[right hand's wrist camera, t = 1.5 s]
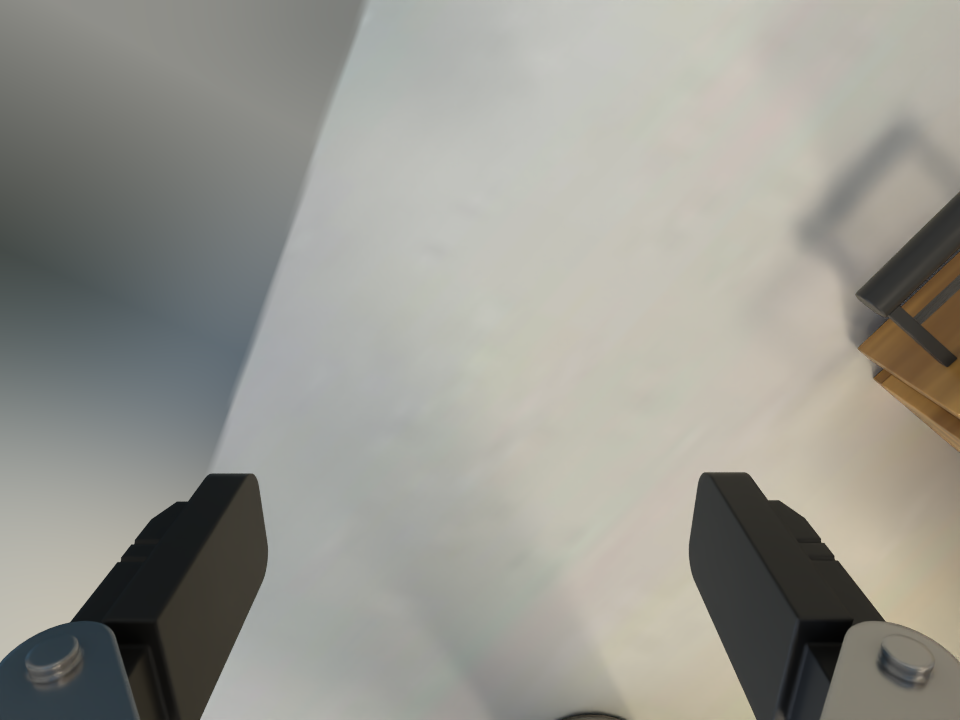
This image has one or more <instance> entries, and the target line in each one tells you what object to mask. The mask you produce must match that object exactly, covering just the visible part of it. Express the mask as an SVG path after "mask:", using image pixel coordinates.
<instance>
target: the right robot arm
mask: <svg viewBox="0 0 960 720" xmlns="http://www.w3.org/2000/svg"><path fill="white" fill-rule="evenodd" d="M267 560H268V544H267V537H266V530H265V524H264V517H263V511H262V504H261V497H260V491H259V485H258V481H257V478H256V476H255V475H254V474H209V475H208V476H207V477H206V478H205V479H204V480H203V482H202V483H201V485H200V486H199V487H198V489H197V490H196V491H195V493H194V494H193V496H192V497H191V498H190V500H189V501H188V502H176V503H175V504H173V505H172V506H170V507H169V508H167V509H166V510H164V511H163V512H161V513H160V514H159V515H157V516H156V517H154V518H153V519H151V521H150V522H149V523H148V524H147V526H146V527H145V528H144V529H143V531H142V532H141V533H140V534H139V536H138V537H137V538H136V539H135V544H134V545H131V546H130V547H129V548H128V550H127V551H126V552H125V553H124V555H123V556H122V557H121V562H117V564H116V565H115V566H114V567H113V569H112V570H111V571H110V572H109V574H108V575H107V576H106V578H105V579H104V580H103V581H102V583H101V584H100V585H99V586H98V588H97V589H96V590H95V591H94V593H93V594H92V595H91V597H90V598H89V599H88V600H87V602H86V603H85V604H84V605H83V607H82V608H81V609H80V610H79V612H78V613H77V614H76V616H75V617H74V618H73V619H72V621H71V622H70V623H66V624H62V625H58V626H55V627H53V628H50V629H47V630H45V631H43V632H41V633H38V634H37V635H35V636H33V637H31V638H29V639H28V640H26V641H25V642H23V643H22V644H20V645H19V646H17V647H16V648H15V649H14V650H12V651H11V652H10V653H9V654H8V655H7V656H6V657H5V658H4V659H3V660H2V661H1V663H0V720H200V718H201V716H202V714H203V712H204V709H205V707H206V705H207V703H208V701H209V698H210V696H211V694H212V692H213V690H214V687H215V685H216V683H217V681H218V679H219V676H220V674H221V672H222V670H223V668H224V665H225V663H226V661H227V659H228V657H229V654H230V652H231V650H232V648H233V646H234V643H235V641H236V639H237V637H238V635H239V632H240V630H241V628H242V626H243V624H244V621H245V619H246V617H247V615H248V613H249V610H250V608H251V606H252V604H253V601H254V599H255V597H256V595H257V593H258V590H259V588H260V586H261V584H262V582H263V579H264V576H265V572H266V567H267ZM689 560H690V567H691V572H692V575H693V578H694V581H695V583H696V585H697V588H698V590H699V592H700V594H701V596H702V599H703V601H704V603H705V605H706V608H707V610H708V612H709V614H710V617H711V619H712V621H713V623H714V625H715V628H716V630H717V632H718V634H719V637H720V639H721V641H722V643H723V646H724V648H725V650H726V652H727V654H728V657H729V659H730V661H731V663H732V666H733V668H734V670H735V672H736V675H737V677H738V679H739V681H740V683H741V686H742V688H743V690H744V692H745V695H746V697H747V699H748V701H749V704H750V706H751V708H752V710H753V712H754V715H755V717H756V719H757V720H960V662H959V661H958V660H957V659H956V658H955V657H954V656H953V655H952V654H951V653H950V652H949V651H948V650H946V649H945V648H944V647H943V646H941V645H940V644H938V643H937V642H935V641H934V640H932V639H931V638H929V637H927V636H925V635H923V634H922V633H919V632H917V631H915V630H913V629H910V628H907V627H905V626H902V625H898V624H894V623H890V622H886V621H885V620H884V619H883V618H882V616H881V615H880V614H879V613H878V611H877V610H876V609H875V607H874V606H873V605H872V604H871V602H870V601H869V600H868V598H867V597H866V596H865V595H864V593H863V592H862V591H861V589H860V588H859V587H858V586H857V584H856V583H855V582H854V581H853V579H852V578H851V577H850V575H849V574H848V573H847V572H846V570H845V569H844V568H843V566H842V565H841V564H840V563H839V561H835V559H834V555H833V554H832V552H831V551H830V550H829V549H828V547H827V546H826V545H825V543H821V538H820V537H819V536H818V534H817V533H816V532H815V531H814V529H813V528H812V527H811V525H810V524H809V523H808V522H807V520H806V519H805V518H804V517H802V516H801V515H799V514H798V513H797V512H795V511H794V510H792V509H791V508H789V507H788V506H786V505H785V504H784V503H782V502H781V501H779V500H767V498H766V497H765V495H764V494H763V493H762V491H761V490H760V489H759V487H758V486H757V484H756V483H755V482H754V480H753V479H752V478H751V476H750V475H749V474H747V473H745V472H705V473H703V474H702V475H701V476H700V479H699V482H698V488H697V494H696V501H695V508H694V514H693V521H692V528H691V535H690V541H689ZM563 720H620V719H617V718H614V717H610V716H605V715H579V716H574V717H569V718H566V719H563Z"/></svg>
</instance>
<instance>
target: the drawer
mask: <svg viewBox="0 0 960 720" xmlns="http://www.w3.org/2000/svg"><path fill="white" fill-rule="evenodd" d="M959 248H960V192H959V193H958V194H957V195H956V196H955V197H954V198H953V199H952V200H951V201H950V202H949V203H948V204H947V205H946V206H945V207H944V208H943V209H942V210H941V211H940V212H938V213H937V214H936V215H935V216H934V217H933V218H932V219H931V220H930V221H929V222H928V223H927V224H926V225H925V226H924V227H923V228H922V229H921V230H920V231H919V232H918V233H917V234H916V235H915V236H914V237H913V238H912V239H911V240H910V241H909V242H908V243H907V244H906V245H905V246H904V247H903V248H902V249H901V250H900V251H899V252H898V253H897V254H896V255H895V256H893V257H892V258H891V259H890V260H889V261H888V262H887V263H886V264H885V265H884V266H883V267H882V268H881V269H880V270H879V271H878V272H877V273H876V274H875V275H874V276H873V277H872V278H871V279H870V280H869V281H868V282H867V283H866V284H865V285H864V286H863V287H862V288H861V289H860V290H859V291H858V292H857V293H856V294H855V295H856V297H857V298H858V299H859V300H860V301H861V302H862V303H863V304H865V305H866V306H867V307H868V308H870V309H871V310H873V311H874V312H876V313H877V314H879V315H880V316H883V317H889V319H888V320H887V321H886V322H885V323H884V324H883V325H882V326H881V327H879V328H878V329H877V330H876V331H875V332H874V333H873V334H872V335H871V336H870V337H869V338H868V339H867V340H866V341H865V342H864V343H863V344H861V345H860V346H859V347H858V350H859V351H860V352H862V353H863V354H864V355H865V356H866V357H867V358H869V359H870V360H871V361H873V362H874V363H876V364H877V365H879V366H880V367H882V368H883V369H885V370H886V371H888V372H889V373H891V374H892V375H894V376H895V377H897V378H898V379H900V380H901V381H903V382H904V383H906V384H907V385H909V386H910V387H912V388H913V389H915V390H916V391H918V392H919V393H921V394H922V395H924V396H925V397H927V398H928V399H930V400H931V401H933V402H934V403H936V404H937V405H939V406H940V407H942V408H943V409H945V410H946V411H948V412H949V413H951V414H952V415H954V416H955V417H957V418H958V419H960V252H959V253H958V254H957V255H956V256H955V257H954V258H953V259H951V260H950V261H949V262H948V263H947V264H946V265H945V266H944V267H943V268H942V269H941V270H940V271H939V272H938V273H937V274H936V275H935V276H933V277H932V278H931V279H930V280H929V281H928V282H927V283H926V284H925V285H924V286H923V287H922V288H921V289H920V290H919V291H918V292H917V293H915V294H914V295H913V296H912V297H911V298H910V299H909V300H908V301H907V302H906V303H905V304H904V305H903V306H902V307H901V306H899V305H900V304H901V303H902V302H903V301H904V300H905V299H906V298H907V297H908V296H910V295H911V294H912V293H913V292H914V291H915V290H916V289H917V288H918V287H919V286H920V285H921V284H922V283H923V282H924V281H925V280H926V279H928V278H929V277H930V276H931V275H932V274H933V273H934V272H935V271H936V270H937V269H938V268H939V267H940V266H941V265H942V264H943V263H944V262H945V261H947V260H948V259H949V258H950V257H951V256H952V255H953V254H954V253H955V252H956V251H957V250H958V249H959Z"/></svg>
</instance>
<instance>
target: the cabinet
mask: <svg viewBox="0 0 960 720" xmlns="http://www.w3.org/2000/svg"><path fill="white" fill-rule="evenodd" d="M874 380H875V381H876V382H878V383H879V384H880V385H881V386H882V387H883V388H885V389H886V390H887V391H888V392H889V393H890V394H892V395H893V396H894V397H895V398H896V399H897V400H899V401H900V402H901V403H902V404H903V405H905V406H906V407H907V408H908V409H909V410H910V411H912V412H913V413H914V414H915V415H916V416H917V417H919V418H920V419H921V420H922V421H923V422H924V423H926V424H927V425H928V426H929V427H930V428H931V429H933V430H934V431H935V432H936V433H937V434H938V435H940V436H941V437H942V438H943V439H944V440H946V441H947V442H948V443H949V444H950V445H951V446H953V447H954V448H955V449H956V450H957V451H958V452H960V419H958V418H957V417H955V416H954V415H952V414H951V413H949V412H948V411H946V410H945V409H943V408H942V407H940V406H939V405H937V404H936V403H934V402H933V401H931V400H930V399H928V398H927V397H925V396H924V395H922V394H921V393H919V392H918V391H916V390H915V389H913V388H912V387H910V386H909V385H907V384H906V383H904V382H903V381H901V380H900V379H898V378H897V377H895V376H894V375H892V374H891V373H889V372H888V371H886V370H885V369H883V370H882V371H881V372H880V373H879V374H877V375H876V376H875V377H874Z"/></svg>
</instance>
